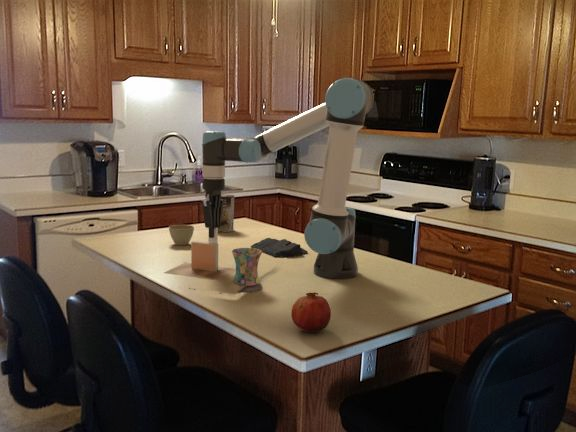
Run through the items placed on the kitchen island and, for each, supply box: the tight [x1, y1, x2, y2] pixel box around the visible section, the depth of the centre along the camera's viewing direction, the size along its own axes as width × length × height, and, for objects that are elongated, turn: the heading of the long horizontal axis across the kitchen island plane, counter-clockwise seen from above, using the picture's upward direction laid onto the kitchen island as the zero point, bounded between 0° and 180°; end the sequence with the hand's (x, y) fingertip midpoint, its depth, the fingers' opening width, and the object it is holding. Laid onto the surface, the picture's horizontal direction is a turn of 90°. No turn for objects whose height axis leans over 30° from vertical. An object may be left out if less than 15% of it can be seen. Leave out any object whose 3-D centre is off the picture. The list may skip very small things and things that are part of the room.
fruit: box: [290, 292, 332, 333], centre depth 149 cm, size 11×10×10 cm
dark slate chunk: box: [250, 237, 308, 259], centre depth 233 cm, size 15×22×5 cm
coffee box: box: [217, 193, 235, 233], centre depth 266 cm, size 9×6×16 cm
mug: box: [231, 247, 263, 287], centre depth 183 cm, size 12×9×11 cm
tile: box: [190, 240, 219, 271], centre depth 197 cm, size 9×2×9 cm, turn 71°
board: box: [163, 262, 236, 281], centre depth 196 cm, size 20×14×2 cm
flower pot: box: [168, 224, 195, 246], centre depth 238 cm, size 10×10×7 cm
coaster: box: [237, 282, 263, 293], centre depth 184 cm, size 11×11×1 cm
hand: (212, 246), depth 202 cm, fingers closed
